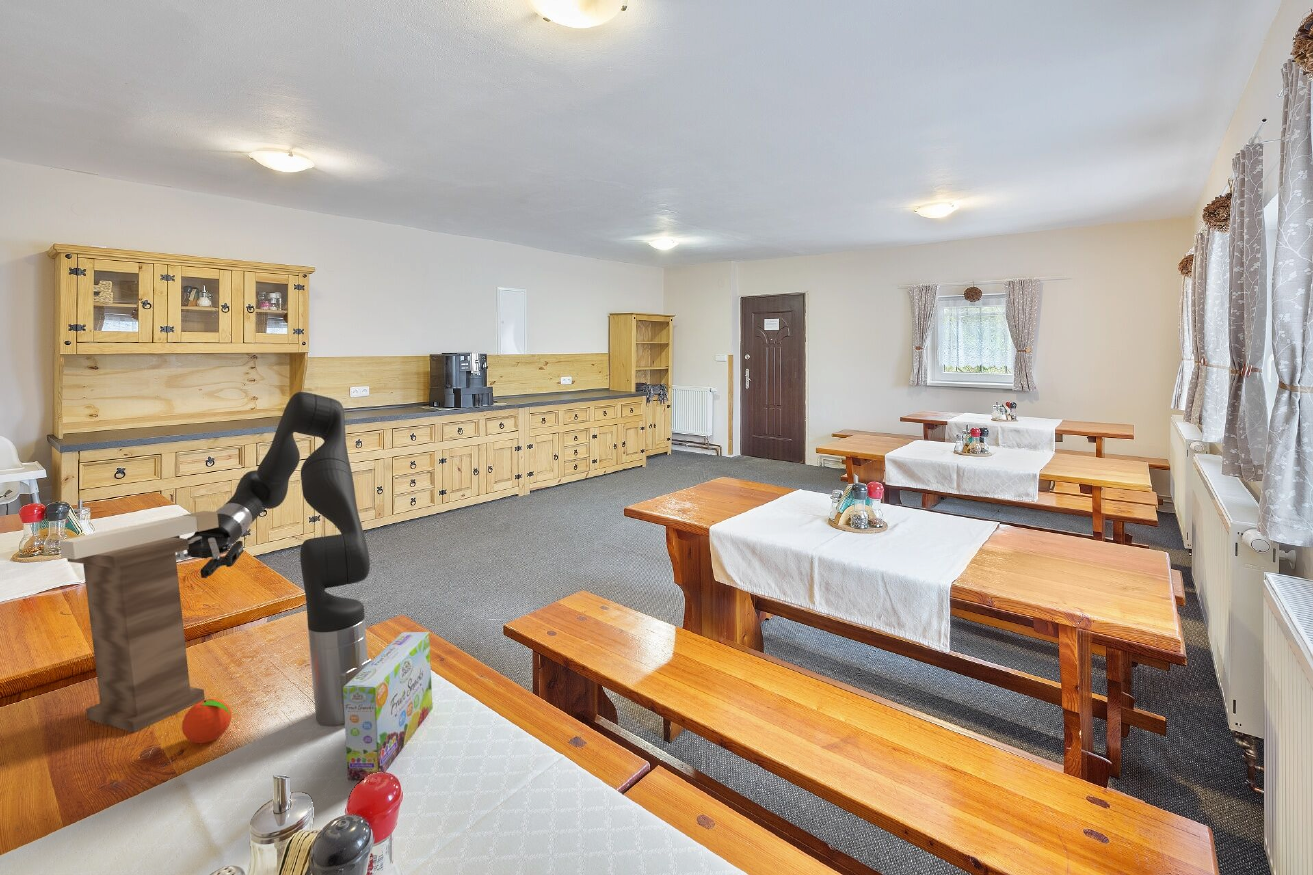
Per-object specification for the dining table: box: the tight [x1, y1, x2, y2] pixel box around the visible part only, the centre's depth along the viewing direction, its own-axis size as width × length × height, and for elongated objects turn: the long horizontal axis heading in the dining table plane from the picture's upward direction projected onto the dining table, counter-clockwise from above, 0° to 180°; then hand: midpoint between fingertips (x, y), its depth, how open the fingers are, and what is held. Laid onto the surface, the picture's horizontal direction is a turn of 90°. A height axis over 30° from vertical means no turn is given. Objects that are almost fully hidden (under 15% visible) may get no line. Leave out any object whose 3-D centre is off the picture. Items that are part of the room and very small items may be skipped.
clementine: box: [181, 698, 233, 744], centre depth 106 cm, size 8×7×7 cm
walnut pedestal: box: [66, 537, 206, 733], centre depth 116 cm, size 14×12×32 cm
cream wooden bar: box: [59, 510, 219, 559], centre depth 117 cm, size 4×24×3 cm, turn 159°
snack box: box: [343, 631, 434, 781], centre depth 104 cm, size 21×6×15 cm, turn 179°
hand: (179, 572), depth 123 cm, fingers open, 8 cm apart
